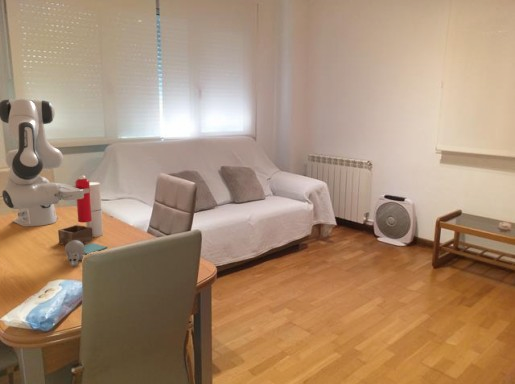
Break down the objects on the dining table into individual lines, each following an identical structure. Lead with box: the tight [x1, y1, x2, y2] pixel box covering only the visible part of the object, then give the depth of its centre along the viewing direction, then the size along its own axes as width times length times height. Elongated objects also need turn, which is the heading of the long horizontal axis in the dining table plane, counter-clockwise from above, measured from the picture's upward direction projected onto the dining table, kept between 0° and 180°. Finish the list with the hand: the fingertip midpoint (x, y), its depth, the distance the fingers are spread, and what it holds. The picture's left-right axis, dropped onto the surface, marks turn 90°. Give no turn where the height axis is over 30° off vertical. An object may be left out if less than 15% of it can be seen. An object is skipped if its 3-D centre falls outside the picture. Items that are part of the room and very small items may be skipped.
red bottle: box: [74, 174, 92, 223], centre depth 172 cm, size 5×5×20 cm
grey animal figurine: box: [64, 240, 86, 268], centre depth 159 cm, size 7×12×8 cm, turn 14°
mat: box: [83, 242, 108, 256], centre depth 175 cm, size 10×10×1 cm
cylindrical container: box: [85, 181, 104, 238], centre depth 192 cm, size 7×7×25 cm
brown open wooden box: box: [57, 224, 94, 246], centre depth 184 cm, size 10×10×6 cm
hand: (84, 189), depth 172 cm, fingers closed on red bottle, 5 cm apart
